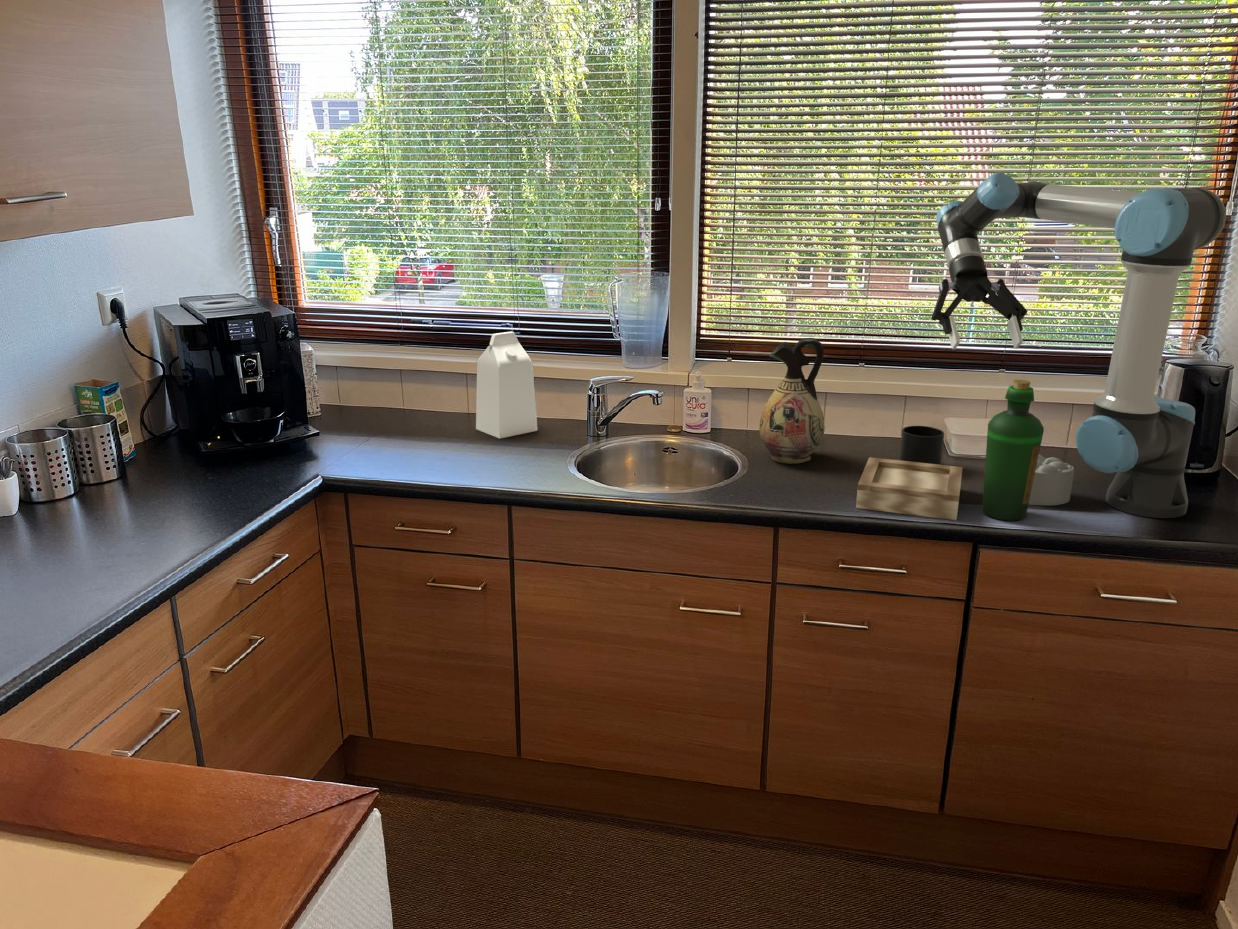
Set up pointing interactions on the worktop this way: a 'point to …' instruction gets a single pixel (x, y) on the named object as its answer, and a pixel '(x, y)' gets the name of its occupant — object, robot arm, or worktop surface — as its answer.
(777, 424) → the ceramic jug
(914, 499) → the rectangular wooden box
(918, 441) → the mug
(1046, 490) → the lumpy-topped squat cylinder
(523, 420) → the milk
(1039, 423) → the bottle
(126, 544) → the worktop surface
